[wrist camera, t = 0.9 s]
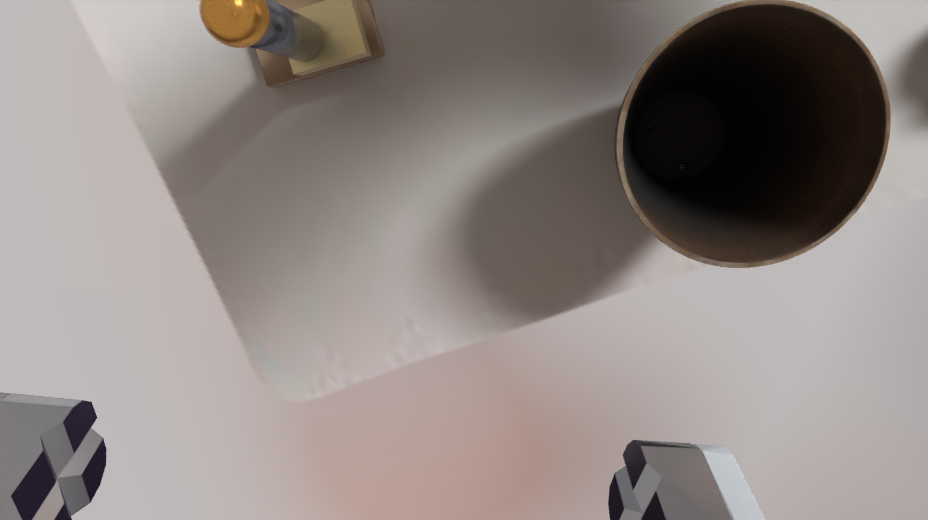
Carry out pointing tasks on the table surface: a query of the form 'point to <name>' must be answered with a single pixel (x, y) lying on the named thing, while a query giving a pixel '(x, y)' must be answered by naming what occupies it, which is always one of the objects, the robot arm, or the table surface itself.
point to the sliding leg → (290, 30)
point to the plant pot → (753, 133)
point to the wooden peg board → (281, 71)
